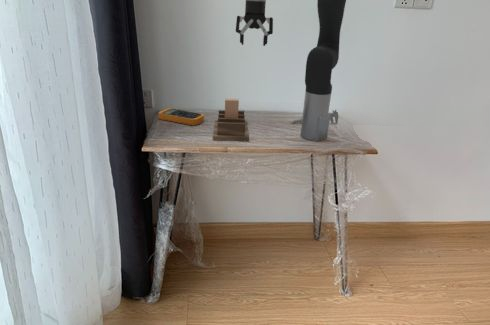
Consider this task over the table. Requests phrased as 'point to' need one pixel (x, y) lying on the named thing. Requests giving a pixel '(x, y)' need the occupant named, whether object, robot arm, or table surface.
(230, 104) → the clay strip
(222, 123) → the ridged wooden board
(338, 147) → the table surface
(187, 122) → the multimeter
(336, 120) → the caliper
